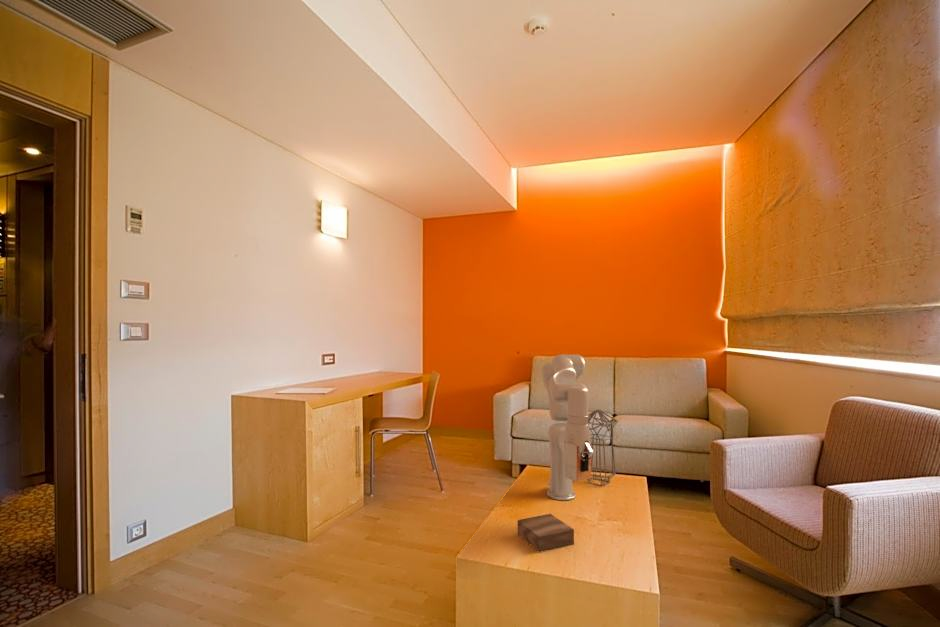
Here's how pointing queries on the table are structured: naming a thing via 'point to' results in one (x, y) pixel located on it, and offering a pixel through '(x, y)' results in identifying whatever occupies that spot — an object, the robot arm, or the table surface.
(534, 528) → the walnut plinth
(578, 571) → the table surface
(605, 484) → the geometric lantern
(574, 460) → the small box
